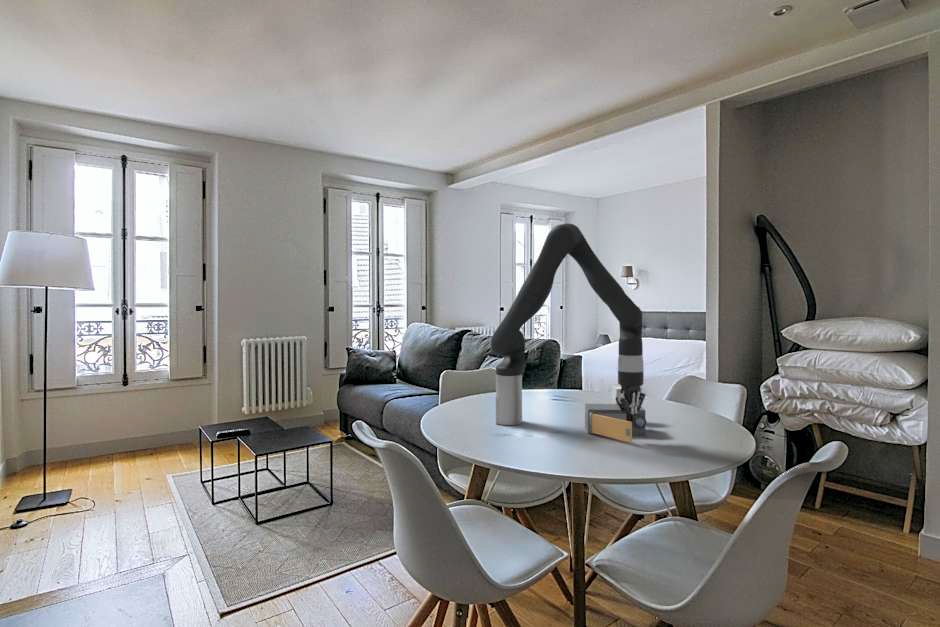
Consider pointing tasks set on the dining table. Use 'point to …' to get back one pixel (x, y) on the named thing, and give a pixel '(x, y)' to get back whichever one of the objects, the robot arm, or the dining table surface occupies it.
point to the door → (610, 427)
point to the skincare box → (615, 394)
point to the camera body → (615, 416)
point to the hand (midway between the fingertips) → (630, 425)
